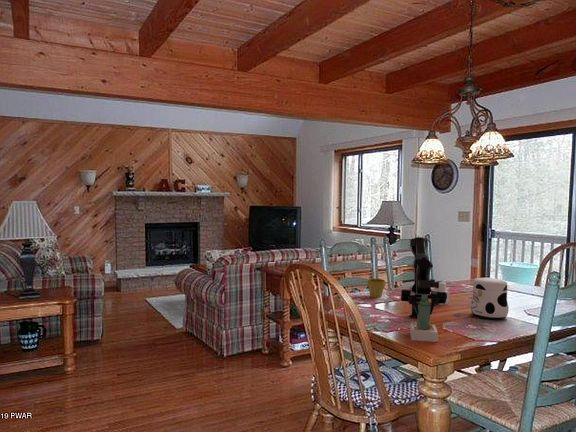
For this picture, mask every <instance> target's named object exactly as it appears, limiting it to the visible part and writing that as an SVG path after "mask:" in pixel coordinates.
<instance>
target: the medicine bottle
mask: <svg viewBox="0 0 576 432" xmlns="http://www.w3.org/2000/svg"><path fill="white" fill-rule="evenodd" d="M437 291H441V292H446V293H447V299H446V303H445V304H440V303H438V305H439V306H443V305H449V304H450V290H447V283H446V282H445V281H443V280H442V281H441V280H438V281H436V280H435V287H434V289H431V292H430V294H436V293H437ZM431 301H432V299H430V302H431ZM438 305H437V306H438Z"/></svg>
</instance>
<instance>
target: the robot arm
mask: <svg viewBox="0 0 576 432" xmlns="http://www.w3.org/2000/svg"><path fill="white" fill-rule="evenodd" d="M428 242H429V240H428V239H427V238H426V237H424V236H423V237H421V236H417V237H414V238H410V239H409V248H410V249H411V252H410V253H412V255H413V256H414V257H413V262H412V268H413V270H414V272H413V275H414V276H413V278H414V281H413V282H414V283H413V285H412V287H411V289H404V288H403V289H402V290H401V291H400V301H401V302H407V303H408V305H411V313H410V314H409V317H412V318H417V316H418V304H420V301H421V298H422V294H427V295H428V297H427V301H429V300H430V305H431V312H430V316H432V314H433V311H434V308H435V307H436V305H437V306H438V303H440V304H443V305H446V304H445V303H446V299H447V293H446V292H441V291H437V293H436V294H431V290H432V289H431V288H435V282H436V279H434V278H433V279H432V278H431V279H430V274H431V269H433V268H434V265H433V263H432V262H431V260H430V257H429V256H428V255H427V254H426V251H427V249H428V246H429V243H428ZM431 299H432V301H431Z"/></svg>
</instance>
